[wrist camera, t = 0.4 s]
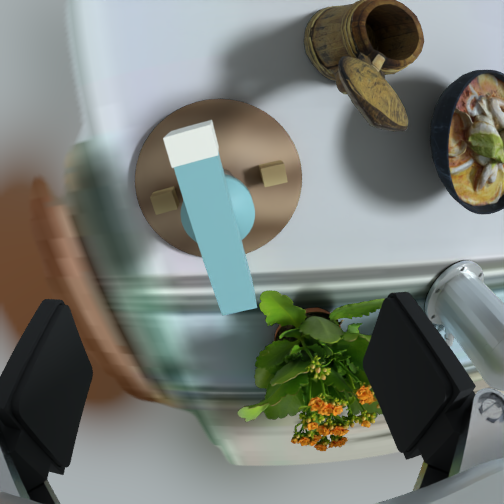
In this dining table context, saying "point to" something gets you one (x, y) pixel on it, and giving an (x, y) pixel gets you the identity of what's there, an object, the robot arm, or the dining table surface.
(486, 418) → the robot arm
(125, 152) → the dining table surface
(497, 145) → the bowl
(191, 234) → the white-capped blue bar
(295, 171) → the base plate
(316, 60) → the wooden mug
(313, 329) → the potted flower
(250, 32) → the dining table surface
